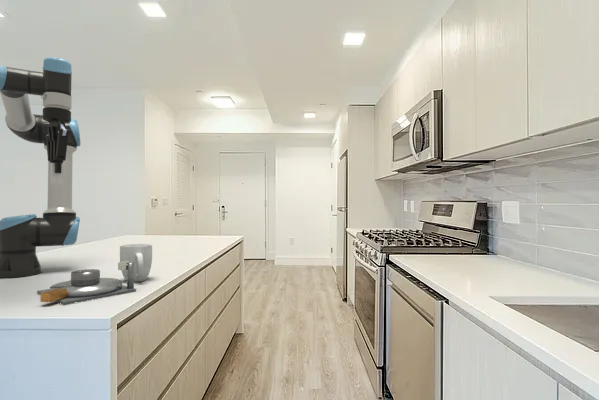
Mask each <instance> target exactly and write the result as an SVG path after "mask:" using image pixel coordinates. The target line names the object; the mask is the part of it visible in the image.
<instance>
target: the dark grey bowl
mask: <svg viewBox="0 0 599 400" xmlns="http://www.w3.org/2000/svg"><path fill="white" fill-rule="evenodd" d="M70 273H71V274H70V281H71V286H74V287H85V286H92V285H97V284H99V283H100V278H101V270H100V269H96V268H91V269H90V268H88V269H85V268H84V269H79V270H78V269H77V270H74V271H71V272H70Z"/></svg>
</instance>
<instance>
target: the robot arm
mask: <svg viewBox="0 0 599 400" xmlns="http://www.w3.org/2000/svg"><path fill="white" fill-rule="evenodd" d="M72 74H73V71H72V63H71V62H70V61H68V60H66V59H65V58H64V59H63V58H60V57H54V56H53V57H52V56H49V57H45V58H44V59H43V66H42V72H41V71H35V70H29V69H22V68H16V67H11V66H10V67H9V66H6V65H0V97H1V100H2V103H3V106H4V109H5V113H6V114H5V117H4V119H5V120H4V121H5V124H6V127H7V128H8V129H9V130H10V131H11V132H12V133H13V134H14V135H16V136H17V137H18V138H21V139H22V140H24V141H26V142H29V143H33V144H43V147H44V149H45V150H46V152H47V153H46V154H47V162H48V163H47V169H48V170H47V209H46V210H44V212H43V213H42V217H37V214H34V213H31V214H21V215H14V216H13V215H12V216H7V217H3V218H1V219H0V279H5V278H6V279H8V278H9V279H10V278H21V277H22V278H23V277H29V276H34V275H38V274H40V273H41V272H42V266H41V264H40V261H39V259H38V255H37V250H36V249H37V248H38V247H57V246H59V247H60V246H62V247H63V246H70V245H71V246H72V245H75V244H76V242H77V240H78V236H79V235H78V234H79V228H80V221H81V217H79V216H77V212H76V210H74V209H73V154H74V153H75V152H76V151H77V149H78V148H77V147H80V146H81V135H80V129H79V128H80V127H79V123H78V121H77V120H76V119H74V118H72V111H71V110H72V78H73V77H72V76H73V75H72ZM29 95H33V96H40V98H41V99H42V106H43V108H42V114H34V113H33V112H32V110H31V103H30V99H29Z"/></svg>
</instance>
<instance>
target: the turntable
mask: <svg viewBox="0 0 599 400" xmlns="http://www.w3.org/2000/svg"><path fill="white" fill-rule="evenodd" d="M122 285H123V280H121V279H120V278H115V277H114V278H113V277H100V283H99V284H97V285H92V286H85V287H74V286H71V280H67V281H61V282H58V283H55V284H52V285H50V287H49V289H50V291H46V292H43V293H41V294H39V295H40V298H39V299H40V301H39V302H40V303H53V302H55V301H56V300H59V299H62V298H65V297H80V296H91V295H98V294H103V293H108V292H112V291H115V290H118V289H120V288H121V287H122Z"/></svg>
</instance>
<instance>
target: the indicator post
mask: <svg viewBox="0 0 599 400" xmlns="http://www.w3.org/2000/svg"><path fill="white" fill-rule="evenodd" d="M117 270H118V271H121V270H127V281H126V284H127V285H126V286H127V289H132V288H134V289H135V282H134V262H130V261H121V262H120V261H119V262H117Z"/></svg>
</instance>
